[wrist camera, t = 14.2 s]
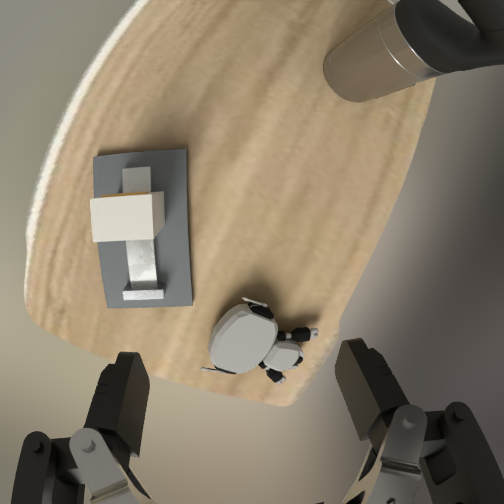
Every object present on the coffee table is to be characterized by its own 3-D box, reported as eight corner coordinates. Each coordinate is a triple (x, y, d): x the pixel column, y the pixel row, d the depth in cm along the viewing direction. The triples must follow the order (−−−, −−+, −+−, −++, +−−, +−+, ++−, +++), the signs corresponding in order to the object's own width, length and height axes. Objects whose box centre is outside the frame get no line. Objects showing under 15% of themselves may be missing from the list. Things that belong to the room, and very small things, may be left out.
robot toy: (315, 319, 43) (233, 283, 37) (328, 333, 39) (240, 297, 33) (275, 376, 44) (194, 352, 39) (284, 393, 40) (197, 371, 35)
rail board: (186, 149, 32) (186, 148, 31) (192, 302, 37) (192, 305, 36) (96, 157, 30) (93, 156, 29) (109, 305, 35) (107, 308, 34)
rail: (158, 166, 31) (155, 165, 29) (165, 292, 35) (164, 300, 33) (117, 169, 30) (112, 169, 28) (128, 294, 34) (124, 301, 32)
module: (163, 189, 32) (151, 191, 23) (165, 223, 33) (153, 239, 24) (117, 192, 31) (89, 196, 22) (118, 226, 32) (93, 242, 23)
